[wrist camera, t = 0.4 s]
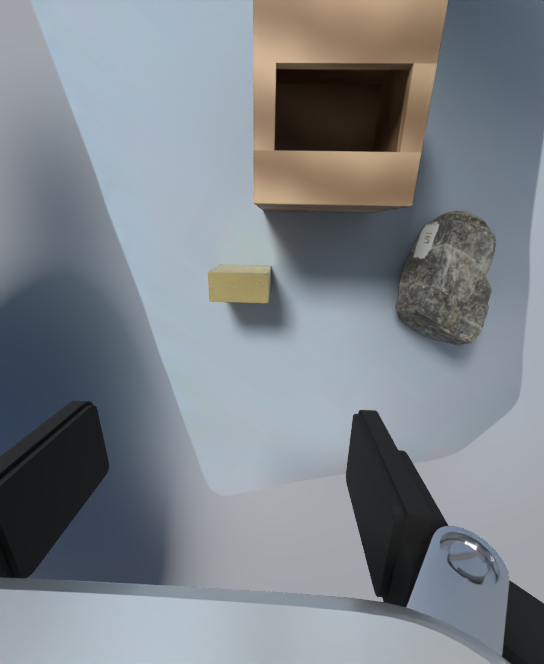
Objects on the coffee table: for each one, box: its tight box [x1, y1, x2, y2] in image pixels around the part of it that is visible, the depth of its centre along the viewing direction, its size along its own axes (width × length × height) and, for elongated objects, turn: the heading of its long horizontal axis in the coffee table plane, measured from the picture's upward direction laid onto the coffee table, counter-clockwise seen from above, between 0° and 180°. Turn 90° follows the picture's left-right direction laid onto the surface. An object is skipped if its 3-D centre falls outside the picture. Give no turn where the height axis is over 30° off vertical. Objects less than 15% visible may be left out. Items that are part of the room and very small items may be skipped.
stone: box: [396, 211, 496, 345], centre depth 31 cm, size 14×7×10 cm, turn 7°
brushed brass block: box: [208, 264, 271, 303], centre depth 31 cm, size 3×6×6 cm, turn 89°
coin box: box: [253, 0, 448, 213], centre depth 24 cm, size 12×12×10 cm
